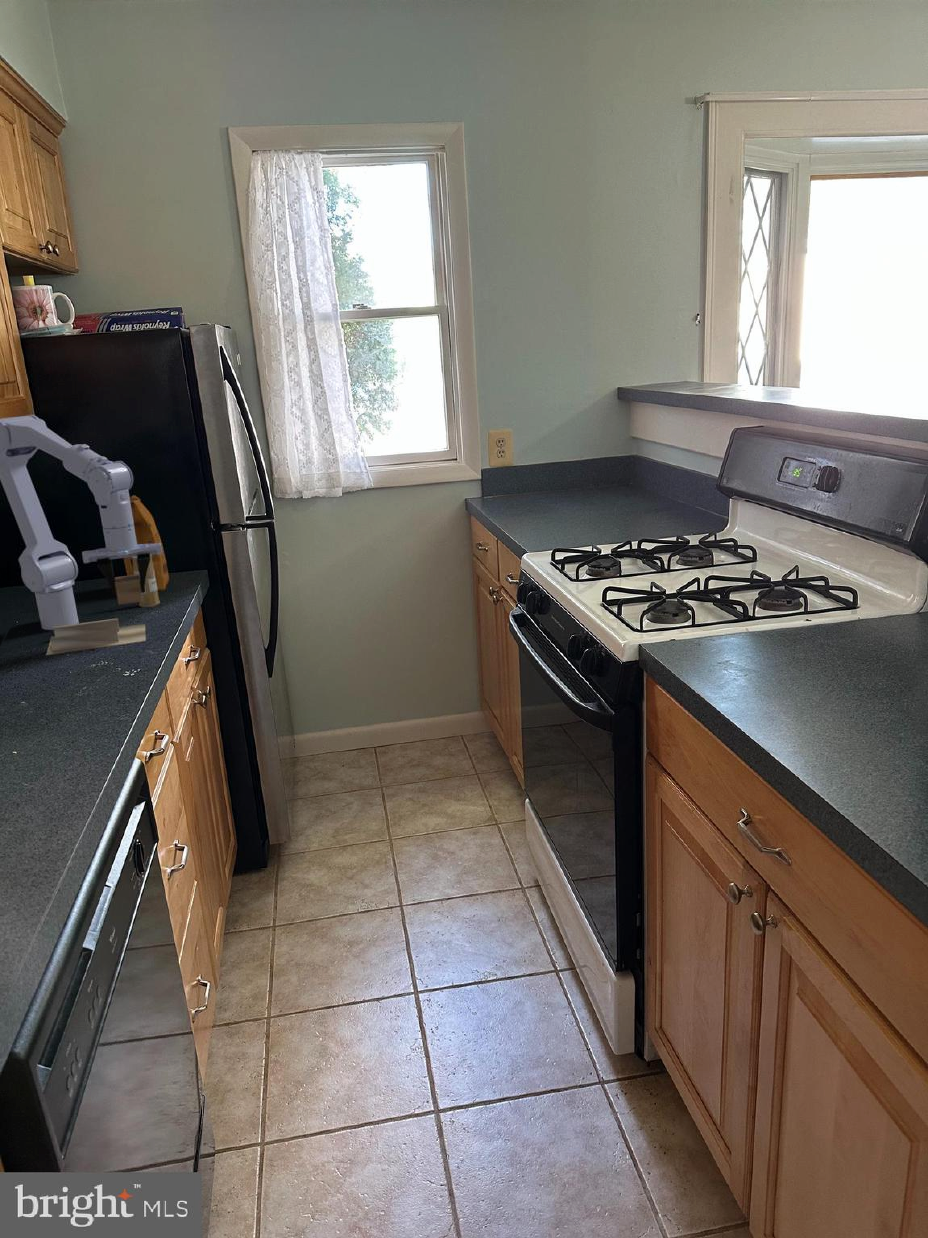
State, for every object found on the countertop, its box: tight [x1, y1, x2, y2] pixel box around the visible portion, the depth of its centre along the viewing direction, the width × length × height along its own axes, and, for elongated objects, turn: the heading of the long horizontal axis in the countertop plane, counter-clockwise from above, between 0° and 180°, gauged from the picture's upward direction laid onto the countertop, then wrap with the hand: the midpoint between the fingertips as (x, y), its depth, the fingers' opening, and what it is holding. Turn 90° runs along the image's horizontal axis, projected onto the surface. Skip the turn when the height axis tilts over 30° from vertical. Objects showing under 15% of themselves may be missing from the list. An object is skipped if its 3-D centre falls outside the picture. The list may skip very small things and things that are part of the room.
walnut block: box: [114, 575, 143, 606], centre depth 176 cm, size 4×4×4 cm
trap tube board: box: [45, 618, 147, 656], centre depth 176 cm, size 12×18×4 cm, turn 110°
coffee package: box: [123, 495, 170, 591], centre depth 215 cm, size 10×12×22 cm
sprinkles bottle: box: [132, 553, 161, 608], centre depth 200 cm, size 5×5×13 cm
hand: (129, 593), depth 176 cm, fingers closed on walnut block, 4 cm apart
